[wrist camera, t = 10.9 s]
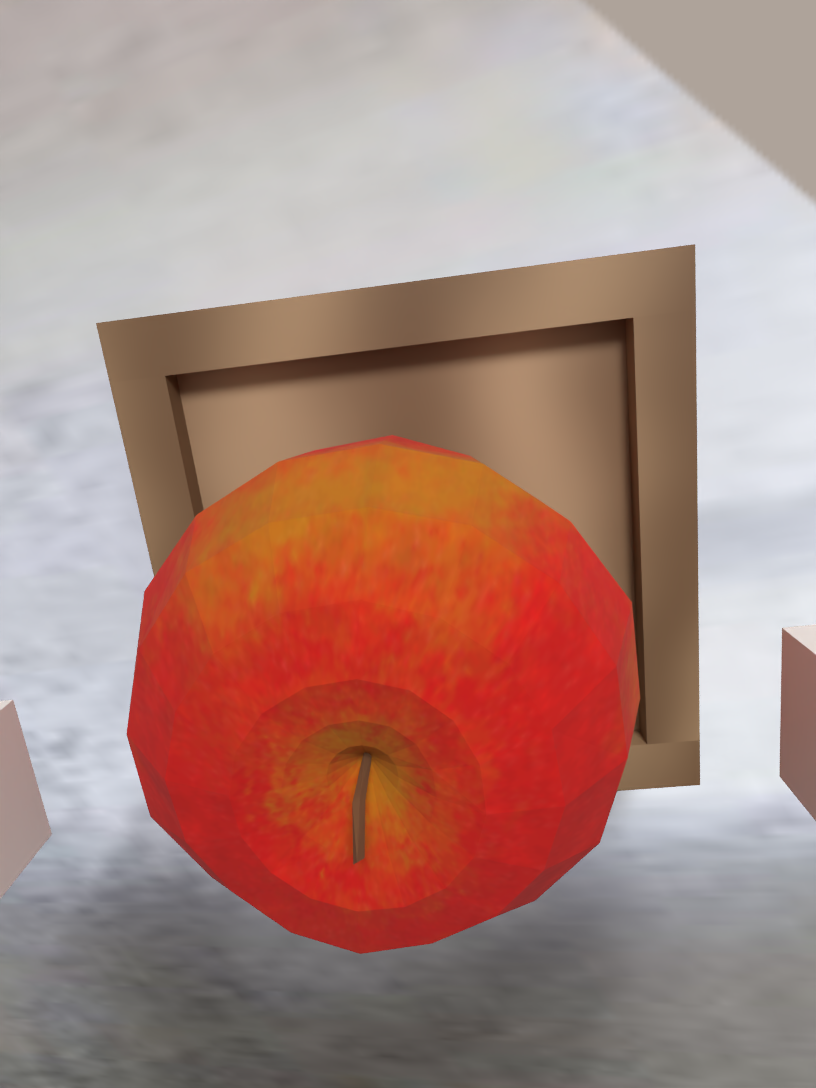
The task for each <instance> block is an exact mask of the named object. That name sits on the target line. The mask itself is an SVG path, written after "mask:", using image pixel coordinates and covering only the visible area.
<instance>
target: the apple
mask: <svg viewBox="0 0 816 1088" xmlns="http://www.w3.org/2000/svg"><path fill="white" fill-rule="evenodd" d="M639 702H640V689H639V677H638V666H637V654H636V643H635V631H634V620H633V608H632V602H631V601H630V599H629V598H628V597H627V595H626V594H625V593H624V591H623V590H622V589H621V587H620V586H619V585H618V583H617V582H616V581H615V579H614V578H613V577H612V575H611V574H610V573H609V571H608V570H607V569H606V567H605V566H604V565H603V563H602V562H601V561H600V560H599V558H598V557H597V556H596V554H595V553H594V552H593V550H592V549H591V548H590V546H589V545H588V544H587V542H586V541H585V540H584V538H583V537H582V536H581V534H580V533H579V532H578V530H577V529H576V528H575V526H574V525H573V524H572V522H571V521H569V520H568V519H566V518H565V517H563V516H562V515H561V514H559V513H558V512H556V511H555V510H553V509H552V508H550V507H549V506H547V505H546V504H544V503H543V502H541V501H540V500H539V499H537V498H535V497H534V496H532V495H531V494H529V493H528V492H526V491H525V490H523V489H522V488H520V487H518V486H517V485H515V484H514V483H512V482H511V481H509V480H508V479H506V478H505V477H503V476H501V475H500V474H498V473H497V472H495V471H494V470H492V469H491V468H489V467H487V466H486V465H484V464H483V463H481V462H479V461H478V460H476V459H475V458H473V457H471V456H469V455H465V454H461V453H458V452H454V451H450V450H446V449H443V448H439V447H435V446H431V445H428V444H424V443H420V442H417V441H413V440H409V439H405V438H402V437H398V436H394V435H390V436H385V437H380V438H375V439H370V440H364V441H359V442H354V443H349V444H344V445H339V446H334V447H329V448H324V449H319V450H314V451H311V452H307V453H304V454H301V455H298V456H295V457H291V458H288V459H285V460H282V461H278V462H277V463H275V464H274V465H272V466H271V467H269V468H268V469H266V470H265V471H263V472H261V473H260V474H258V475H257V476H255V477H254V478H252V479H251V480H249V481H248V482H246V483H245V484H243V485H242V486H240V487H238V488H237V489H235V490H234V491H232V492H231V493H229V494H228V495H226V496H225V497H223V498H222V499H220V500H219V501H217V502H216V503H214V504H212V505H211V506H209V507H208V508H206V509H205V510H203V511H202V512H200V513H199V514H197V515H196V516H195V518H194V519H193V521H192V522H191V524H190V525H189V527H188V528H187V530H186V531H185V533H184V534H183V535H182V537H181V538H180V540H179V541H178V543H177V544H176V546H175V547H174V549H173V550H172V552H171V553H170V555H169V556H168V558H167V559H166V561H165V562H164V563H163V565H162V566H161V568H160V569H159V571H158V572H157V574H156V575H155V577H154V578H153V580H152V581H151V583H150V584H149V586H148V587H147V588H146V590H145V592H144V600H143V608H142V616H141V624H140V632H139V640H138V648H137V656H136V664H135V672H134V680H133V688H132V696H131V704H130V712H129V720H128V728H127V737H128V741H129V744H130V747H131V751H132V754H133V758H134V761H135V765H136V768H137V772H138V775H139V778H140V782H141V785H142V789H143V792H144V796H145V799H146V803H147V806H148V809H149V813H150V816H151V817H152V818H153V819H154V820H155V821H156V822H157V823H158V824H159V825H160V826H161V827H162V828H163V829H164V830H165V831H166V832H167V833H168V834H169V835H170V836H171V837H172V838H173V839H174V840H175V841H176V842H177V843H178V844H179V845H180V846H181V847H182V848H183V849H184V850H185V851H186V852H187V853H188V854H189V855H190V856H191V857H192V858H193V859H194V860H195V861H196V862H197V863H198V864H199V865H200V866H201V867H202V868H203V869H204V870H205V871H206V872H207V873H208V874H209V875H210V876H211V877H212V878H214V879H215V880H217V881H218V882H219V883H221V884H222V885H223V886H225V887H226V888H228V889H229V890H230V891H232V892H233V893H235V894H236V895H238V896H239V897H240V898H242V899H243V900H245V901H246V902H248V903H249V904H251V905H252V906H253V907H255V908H256V909H258V910H259V911H261V912H262V913H264V914H265V915H266V916H268V917H269V918H271V919H272V920H274V921H275V922H277V923H278V924H279V925H281V926H282V927H284V928H285V929H287V930H288V931H290V932H291V933H294V934H298V935H301V936H304V937H307V938H311V939H314V940H317V941H320V942H324V943H327V944H330V945H333V946H337V947H340V948H343V949H347V950H350V951H353V952H356V953H360V954H362V953H369V952H376V951H382V950H389V949H396V948H403V947H410V946H417V945H424V944H431V943H434V942H436V941H439V940H441V939H443V938H446V937H448V936H451V935H453V934H455V933H458V932H460V931H462V930H465V929H467V928H470V927H472V926H474V925H477V924H479V923H481V922H484V921H486V920H489V919H491V918H493V917H496V916H498V915H501V914H503V913H506V912H508V911H510V910H513V909H515V908H518V907H520V906H523V905H525V904H528V903H530V902H533V901H535V900H536V899H537V898H538V897H540V896H541V895H542V894H543V893H544V892H545V891H546V890H547V889H549V888H550V887H551V886H552V885H553V884H554V883H555V882H556V881H557V880H559V879H560V878H561V877H562V876H563V875H564V874H565V873H566V872H568V871H569V870H570V869H571V868H572V867H573V866H574V865H575V864H576V863H578V862H579V861H580V860H581V859H582V858H583V857H584V856H585V855H587V854H588V853H589V852H590V851H591V850H592V849H593V848H594V847H596V846H597V845H598V844H599V843H600V840H601V837H602V834H603V831H604V828H605V825H606V822H607V819H608V816H609V813H610V810H611V807H612V804H613V801H614V798H615V795H616V792H617V789H618V786H619V783H620V780H621V777H622V774H623V771H624V768H625V765H626V762H627V759H628V754H629V749H630V745H631V740H632V735H633V731H634V726H635V721H636V716H637V712H638V707H639Z"/></svg>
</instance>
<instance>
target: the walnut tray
mask: <svg viewBox="0 0 816 1088" xmlns="http://www.w3.org/2000/svg"><path fill="white" fill-rule="evenodd" d="M96 325H97V329H98V333H99V338H100V342H101V346H102V351H103V355H104V359H105V364H106V368H107V373H108V377H109V381H110V386H111V390H112V394H113V399H114V403H115V407H116V412H117V416H118V421H119V425H120V429H121V434H122V438H123V442H124V447H125V451H126V455H127V460H128V464H129V469H130V473H131V477H132V482H133V486H134V490H135V495H136V499H137V503H138V508H139V512H140V516H141V521H142V525H143V530H144V534H145V538H146V543H147V547H148V551H149V556H150V560H151V564H152V569H153V573H154V577H155V575H156V574H157V572H158V571H159V569H160V568H161V566H162V565H163V563H164V562H165V561H166V559H167V558H168V556H169V555H170V553H171V552H172V550H173V549H174V547H175V546H176V544H177V543H178V541H179V540H180V538H181V537H182V535H183V534H184V533H185V531H186V530H187V528H188V527H189V525H190V524H191V522H192V521H193V519H194V518H195V516H196V515H197V514H199V513H200V512H202V511H203V510H205V509H206V508H208V507H209V506H211V505H212V504H214V503H216V502H217V501H219V500H220V499H222V498H223V497H225V496H226V495H228V494H229V493H231V492H232V491H234V490H235V489H237V488H238V487H240V486H242V485H243V484H245V483H246V482H248V481H249V480H251V479H252V478H254V477H255V476H257V475H258V474H260V473H261V472H263V471H265V470H266V469H268V468H269V467H271V466H272V465H274V464H275V463H277V462H278V461H282V460H285V459H288V458H291V457H295V456H298V455H301V454H304V453H307V452H311V451H314V450H319V449H324V448H329V447H334V446H339V445H344V444H349V443H354V442H359V441H364V440H370V439H375V438H380V437H385V436H390V435H394V436H398V437H402V438H405V439H409V440H413V441H417V442H420V443H424V444H428V445H431V446H435V447H439V448H443V449H446V450H450V451H454V452H458V453H461V454H465V455H469V456H471V457H473V458H475V459H476V460H478V461H479V462H481V463H483V464H484V465H486V466H487V467H489V468H491V469H492V470H494V471H495V472H497V473H498V474H500V475H501V476H503V477H505V478H506V479H508V480H509V481H511V482H512V483H514V484H515V485H517V486H518V487H520V488H522V489H523V490H525V491H526V492H528V493H529V494H531V495H532V496H534V497H535V498H537V499H539V500H540V501H541V502H543V503H544V504H546V505H547V506H549V507H550V508H552V509H553V510H555V511H556V512H558V513H559V514H561V515H562V516H563V517H565V518H566V519H568V520H569V521H571V522H572V524H573V525H574V526H575V528H576V529H577V530H578V532H579V533H580V534H581V536H582V537H583V538H584V540H585V541H586V542H587V544H588V545H589V546H590V548H591V549H592V550H593V552H594V553H595V554H596V556H597V557H598V558H599V560H600V561H601V562H602V563H603V565H604V566H605V567H606V569H607V570H608V571H609V573H610V574H611V575H612V577H613V578H614V579H615V581H616V582H617V583H618V585H619V586H620V587H621V589H622V590H623V591H624V593H625V594H626V595H627V597H628V598H629V599H630V601H631V602H632V608H633V620H634V631H635V643H636V654H637V666H638V677H639V689H640V702H639V707H638V712H637V716H636V721H635V726H634V731H633V735H632V740H631V745H630V749H629V754H628V759H627V762H626V765H625V768H624V771H623V774H622V777H621V780H620V783H619V786H618V789H617V791H621V790H635V789H649V788H663V787H676V786H690V785H700V739H699V627H698V516H697V404H696V293H695V244H694V245H686V246H679V247H671V248H664V249H656V250H648V251H641V252H633V253H626V254H618V255H610V256H603V257H595V258H588V259H580V260H573V261H565V262H557V263H550V264H542V265H535V266H527V267H519V268H512V269H504V270H497V271H489V272H481V273H474V274H466V275H459V276H451V277H444V278H436V279H428V280H421V281H413V282H406V283H398V284H390V285H383V286H375V287H368V288H360V289H352V290H345V291H337V292H330V293H322V294H314V295H307V296H299V297H292V298H284V299H277V300H269V301H261V302H254V303H246V304H239V305H231V306H223V307H216V308H208V309H201V310H193V311H185V312H178V313H170V314H163V315H155V316H147V317H140V318H132V319H125V320H117V321H110V322H102V323H96Z"/></svg>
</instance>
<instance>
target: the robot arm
mask: <svg viewBox="0 0 816 1088" xmlns="http://www.w3.org/2000/svg"><path fill="white" fill-rule="evenodd" d="M780 777H781V778H782V780H783V781H784V782H785V783H786V785H787V786H788V787H789V788H790V790H791V791H792V792H793V793H794V795H795V796H796V797H797V798H798V800H799V801H800V802H801V803H802V804H803V806H804V807H805V808H806V809H807V811H808V812H809V813H810V814H811V816H812V817H813V818H814V819H815V821H816V625H807V626H797V627H786V628H782V672H781V729H780ZM51 835H52V833H51V830H50V826H49V823H48V819H47V816H46V812H45V809H44V805H43V802H42V799H41V795H40V792H39V788H38V785H37V781H36V778H35V774H34V771H33V767H32V764H31V760H30V757H29V753H28V750H27V747H26V743H25V740H24V736H23V733H22V729H21V726H20V722H19V719H18V715H17V712H16V708H15V705H14V701H13V700H6V701H0V898H1V897H2V896H3V895H4V893H5V892H6V891H7V890H8V888H9V887H10V886H11V885H12V883H13V882H14V881H15V880H16V878H17V877H18V876H19V875H20V873H21V872H22V871H23V870H24V868H25V867H26V866H27V865H28V863H29V862H30V861H31V860H32V858H33V857H34V856H35V855H36V853H37V852H38V851H39V850H40V848H41V847H42V846H43V845H44V843H45V842H46V841H47V840H48V838H49V837H50V836H51Z"/></svg>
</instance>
